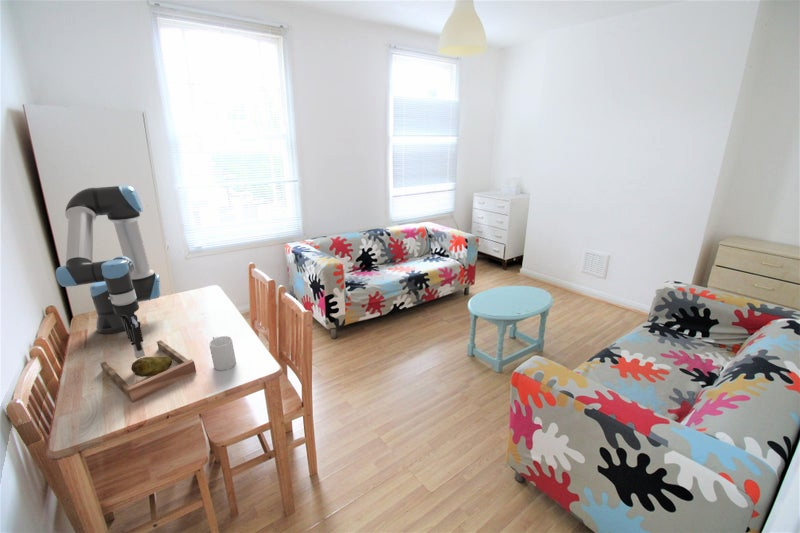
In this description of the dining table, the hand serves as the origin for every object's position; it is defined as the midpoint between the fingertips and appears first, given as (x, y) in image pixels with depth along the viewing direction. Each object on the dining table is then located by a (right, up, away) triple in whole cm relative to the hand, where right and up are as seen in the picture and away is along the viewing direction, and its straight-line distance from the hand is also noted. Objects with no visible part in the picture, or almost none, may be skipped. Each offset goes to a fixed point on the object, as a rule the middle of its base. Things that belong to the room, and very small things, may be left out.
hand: (140, 356), depth 143 cm
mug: (+31, -3, +2) cm, 31 cm away
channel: (+5, -5, -2) cm, 7 cm away
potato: (+9, -6, -4) cm, 11 cm away
